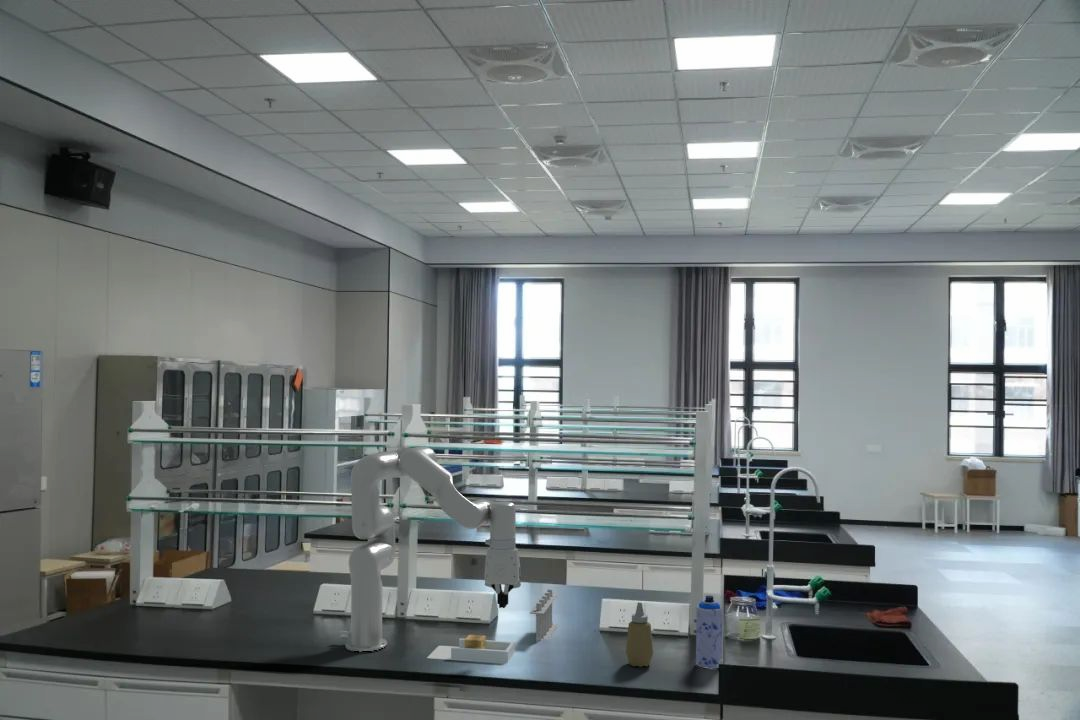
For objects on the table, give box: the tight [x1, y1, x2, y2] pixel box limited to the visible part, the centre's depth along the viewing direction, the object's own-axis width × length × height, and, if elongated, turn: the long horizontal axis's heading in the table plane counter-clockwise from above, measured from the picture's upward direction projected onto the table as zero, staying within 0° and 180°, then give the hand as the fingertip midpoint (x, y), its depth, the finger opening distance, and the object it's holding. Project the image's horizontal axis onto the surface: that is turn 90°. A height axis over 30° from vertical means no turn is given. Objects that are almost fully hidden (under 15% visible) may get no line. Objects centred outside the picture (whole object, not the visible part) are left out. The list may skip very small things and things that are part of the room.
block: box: [464, 634, 487, 649], centre depth 259 cm, size 5×5×5 cm
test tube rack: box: [529, 588, 559, 643], centre depth 283 cm, size 25×4×13 cm, turn 168°
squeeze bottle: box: [625, 601, 654, 668], centre depth 256 cm, size 8×8×18 cm
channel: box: [426, 637, 516, 665], centre depth 259 cm, size 24×12×4 cm, turn 79°
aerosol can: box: [695, 595, 723, 668], centre depth 257 cm, size 8×8×20 cm
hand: (502, 606), depth 258 cm, fingers closed
